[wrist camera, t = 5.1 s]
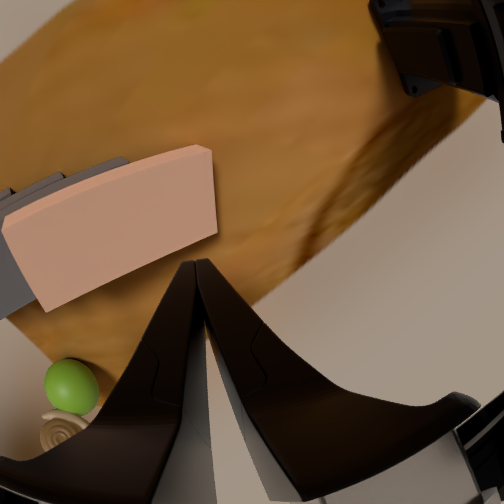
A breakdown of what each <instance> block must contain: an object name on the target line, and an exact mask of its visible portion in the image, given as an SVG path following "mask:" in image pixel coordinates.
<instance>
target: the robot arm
mask: <svg viewBox="0 0 504 504" xmlns="http://www.w3.org/2000/svg"><path fill="white" fill-rule="evenodd" d="M377 2H379V3H380V5H381V7H380V6H379V5H378V3H377ZM370 6H371V8H372V10H373V12H374V14H375V16H376V18H377V20H378V22H379V24H380V27H381V29H382V31H383V34H384V36H385V38H386V41H387V43H388V45H389V48H390V50H391V53H392V55H393V58H394V61H395V63H396V66H397V69H398V72H399V75H400V78H401V81H402V84H403V87H404V90H405V92H406V94H407V95H409V96H412V97H418V96H420V95H422V94H424V93H426V92H428V91H430V90H432V89H435V88H437V87H439V86H441V85H443V84H447V85H450V86H453V87H456V88H460V89H463V90H466V91H469V92H471V93H474V94H477V95H480V96H482V97H485V98H488V99H490V100H493V101H495V102H498V103H499V107H500V115H501V124H502V131H501V140H502V142H503V143H504V0H370ZM412 87H413V91H412ZM204 321H205V323H204ZM205 326H206V330H207V333H208V337H209V340H210V343H211V346H212V349H213V353H214V356H215V359H216V362H217V365H218V368H219V371H220V374H221V377H222V380H223V383H224V386H225V389H226V392H227V394H228V397H229V400H230V403H231V406H232V409H233V411H234V414H235V417H236V419H237V422H238V425H239V427H240V430H241V433H242V435H243V437H244V440H245V443H246V446H247V448H248V451H249V453H250V455H251V458H252V460H253V463H254V465H255V467H256V470H257V472H258V475H259V477H260V479H261V482H262V484H263V486H264V488H265V490H266V493H267V495H268V497H269V500H270V501H282V502H290V503H291V504H500V503H501V501H504V391H502V392H501V393H500V394H499V395H498V396H496V397H495V398H494V399H493V400H491V401H490V402H489V403H488V404H486V405H485V406H484V407H483V408H481V409H480V410H479V411H478V412H476V411H477V410H478V409H479V408H480V406H481V404H480V403H479V402H478V401H477V400H475V399H474V398H472V397H470V396H468V395H465V394H462V393H458V392H452V393H450V394H448V395H447V396H445V397H443V398H442V399H440V400H438V401H437V402H435V403H433V404H430V405H426V406H409V405H403V404H399V403H394V402H390V401H385V400H381V399H377V398H373V397H369V396H365V395H361V394H357V393H354V392H350V391H347V390H345V389H343V388H341V387H339V386H337V385H336V384H334V383H333V382H331V381H330V380H328V379H327V378H326V377H325V376H323V375H322V374H321V373H320V372H318V371H317V370H316V369H315V368H313V367H312V366H311V365H310V364H308V363H307V362H306V361H304V360H303V359H302V358H301V357H300V356H298V355H297V354H296V353H295V352H294V351H293V350H291V349H290V348H289V347H288V346H287V345H286V344H285V343H284V342H283V341H281V339H279V337H278V336H277V335H276V334H275V333H274V332H273V331H272V330H271V329H270V328H269V327H268V326H267V325H266V324H265V323H264V322H263V321H262V320H261V318H260V317H259V316H258V315H257V314H256V313H255V312H254V310H253V309H252V308H251V307H250V306H249V305H248V304H247V302H246V301H245V300H244V299H243V298H242V297H241V296H240V295H239V293H238V292H237V291H236V290H235V289H234V288H233V287H232V285H231V284H230V283H229V282H228V281H227V280H226V278H225V277H224V276H223V275H222V274H221V273H220V271H219V270H218V269H217V268H216V267H215V266H214V264H213V263H212V262H211V261H210V260H209V259H208V258H204V259H197V260H196V261H194V260H190V261H183V262H182V263H181V264H180V266H179V268H178V270H177V271H176V273H175V275H174V277H173V279H172V281H171V282H170V284H169V286H168V288H167V290H166V292H165V294H164V295H163V297H162V299H161V301H160V303H159V305H158V307H157V309H156V311H155V313H154V315H153V317H152V319H151V320H150V322H149V324H148V326H147V328H146V330H145V332H144V334H143V336H142V338H141V340H142V341H140V342H139V344H138V346H137V348H136V350H135V352H134V354H133V356H132V358H131V360H130V362H129V364H128V366H127V367H126V369H125V371H124V372H123V374H122V376H121V377H120V379H119V381H118V382H117V384H116V385H115V387H114V389H113V390H112V392H111V393H110V395H109V397H108V398H107V400H106V401H105V403H104V405H103V406H102V408H101V410H100V411H99V413H98V415H97V416H96V417H95V418H94V420H93V421H92V422H91V423H90V424H89V425H88V426H87V427H86V428H84V429H83V430H81V431H80V432H78V433H76V434H75V435H73V436H72V437H70V438H68V439H67V440H65V441H63V442H62V443H60V444H58V445H57V446H55V447H53V448H52V449H50V450H48V451H46V452H45V453H43V454H41V455H39V456H37V457H35V458H33V459H30V460H26V461H16V460H13V459H10V458H7V457H4V456H0V485H1V486H4V487H6V488H8V489H10V490H13V491H15V492H18V493H20V494H23V495H26V496H28V497H31V498H34V499H37V500H38V501H37V500H34V499H31V498H28V497H26V496H23V495H20V494H18V493H15V492H13V491H10V490H8V489H5V488H3V487H0V504H217V499H216V490H215V481H214V471H213V460H212V451H211V437H210V424H209V410H208V409H209V408H208V392H207V372H206V371H207V370H206V340H205ZM475 412H476V413H475ZM473 413H475V414H474V415H472V414H473ZM471 415H472V416H471ZM470 416H471V417H470ZM469 417H470V418H469ZM467 418H469V419H468V420H466V419H467ZM465 420H466V421H465ZM463 421H465V422H464V423H463V424H461V423H462V422H463ZM460 424H461V425H460ZM458 425H460V426H458ZM457 426H458V427H457ZM456 427H457V428H456ZM455 428H456V429H455Z"/></svg>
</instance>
